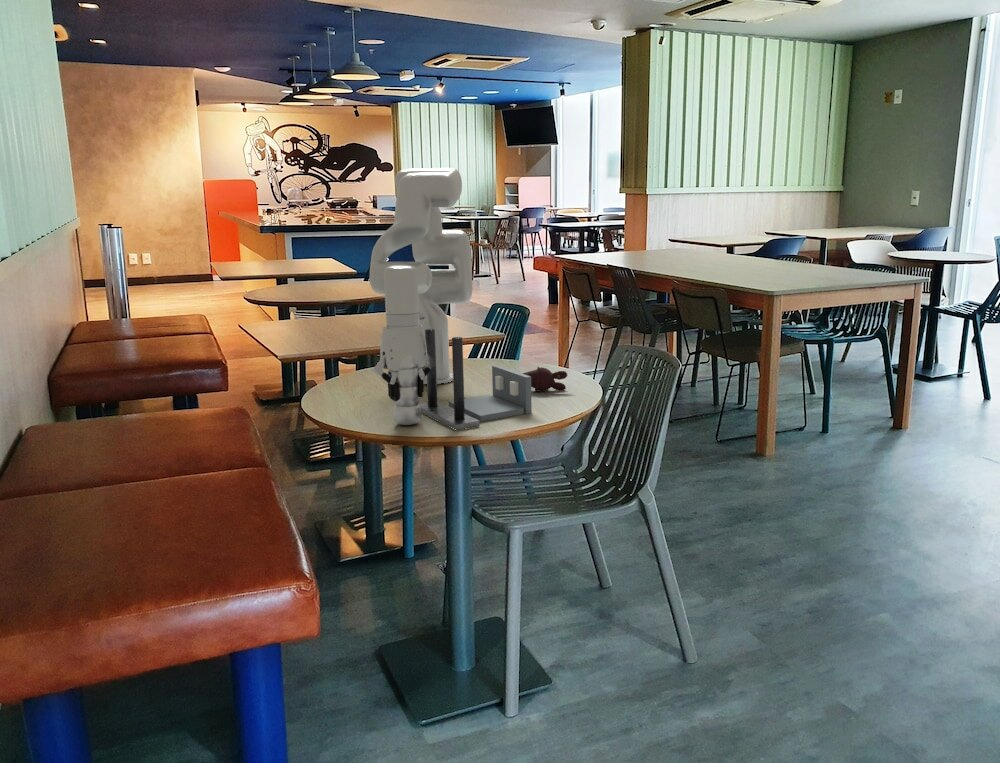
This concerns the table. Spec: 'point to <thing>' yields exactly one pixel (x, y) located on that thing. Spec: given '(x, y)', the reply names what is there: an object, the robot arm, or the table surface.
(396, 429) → the table surface
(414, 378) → the silver bottle
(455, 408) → the cord gate
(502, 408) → the switch board
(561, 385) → the dark brown rounded figure
